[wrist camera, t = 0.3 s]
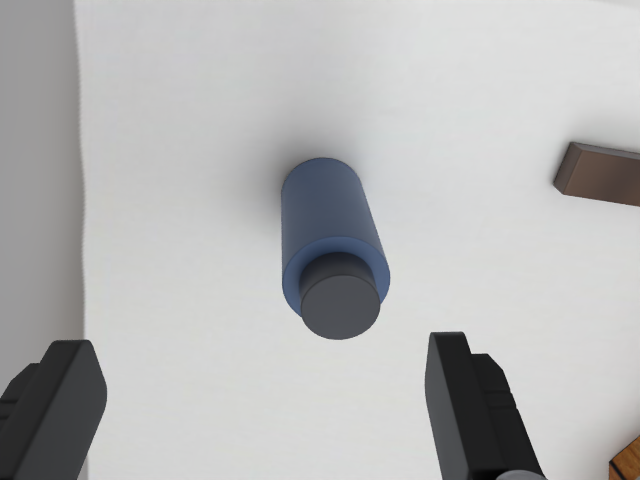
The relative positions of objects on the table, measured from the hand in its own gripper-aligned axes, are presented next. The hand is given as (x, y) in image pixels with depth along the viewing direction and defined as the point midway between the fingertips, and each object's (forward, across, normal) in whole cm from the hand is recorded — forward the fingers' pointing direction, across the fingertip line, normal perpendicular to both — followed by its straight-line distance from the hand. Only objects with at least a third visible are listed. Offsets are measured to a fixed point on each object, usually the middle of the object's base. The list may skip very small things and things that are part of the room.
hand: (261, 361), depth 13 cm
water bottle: (+21, -2, +7) cm, 23 cm away
